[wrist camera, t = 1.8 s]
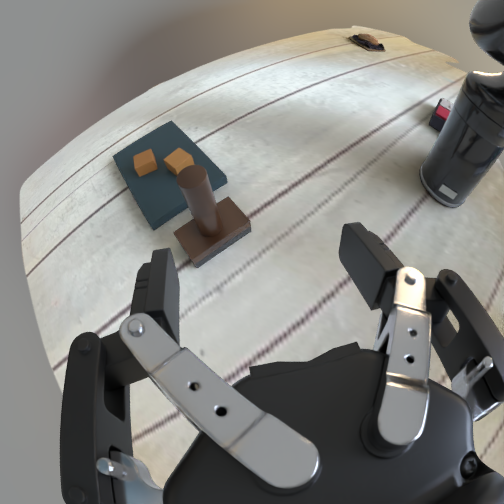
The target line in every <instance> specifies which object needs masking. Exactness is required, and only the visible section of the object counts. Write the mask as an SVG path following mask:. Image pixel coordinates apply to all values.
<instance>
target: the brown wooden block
mask: <svg viewBox="0 0 504 504" xmlns="http://www.w3.org/2000/svg"><path fill="white" fill-rule="evenodd" d="M164 162H165V164H166V167H167V168H168V169H169V170H170V171H171V172H173V173H174V174H175V175H176V176H177V175H178V173H179V172H180V171H181V170H182V169H183V168H185V167H187V166H190V165H195V164H194V161H193V158H192V156H191V155H190V154H188V153H187V152H185V151H184V150H182V149H181V148H178V149H177V150H175V151H174V152H173V153H171V154H170V155H169V156H167V157H166V158H165V159H164Z"/></svg>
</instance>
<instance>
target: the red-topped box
mask: <svg viewBox="0 0 504 504" xmlns="http://www.w3.org/2000/svg"><path fill="white" fill-rule="evenodd" d="M453 105H454V104H453V103H451V102H449V101H448V100H446V99H444V98H443V99H440V100H439V102H438V104H437V106H436V108H435V110H434V112H433V114H432V117H431V120H430V122H429V125H430V126H432V127H433V128H435V129H437V130H438V131H440V132H441V130H442V128H443V126H444V124H445V122H446V120H447V118H448V116H449V113H450V111H451V109H452V107H453Z"/></svg>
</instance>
